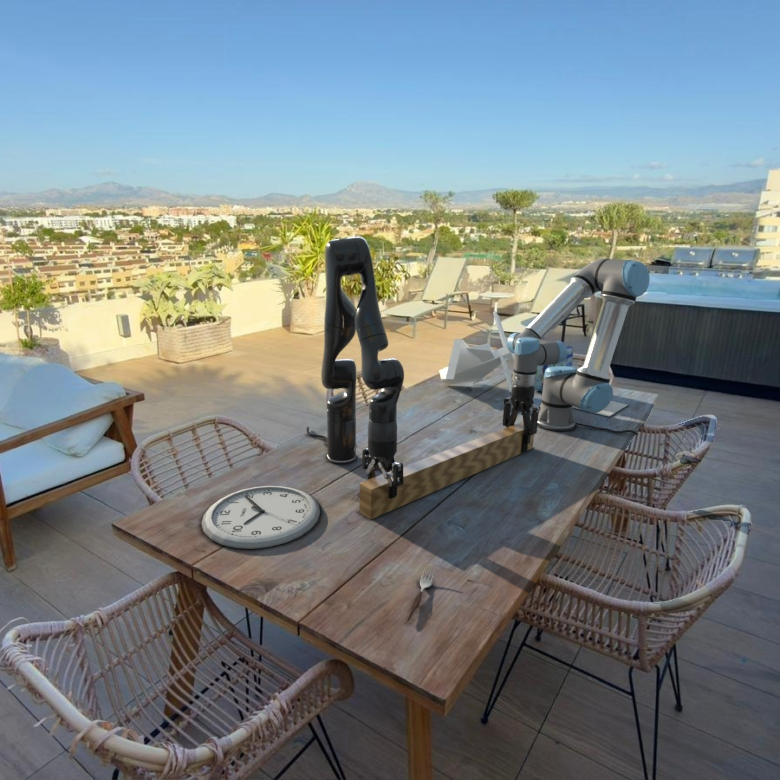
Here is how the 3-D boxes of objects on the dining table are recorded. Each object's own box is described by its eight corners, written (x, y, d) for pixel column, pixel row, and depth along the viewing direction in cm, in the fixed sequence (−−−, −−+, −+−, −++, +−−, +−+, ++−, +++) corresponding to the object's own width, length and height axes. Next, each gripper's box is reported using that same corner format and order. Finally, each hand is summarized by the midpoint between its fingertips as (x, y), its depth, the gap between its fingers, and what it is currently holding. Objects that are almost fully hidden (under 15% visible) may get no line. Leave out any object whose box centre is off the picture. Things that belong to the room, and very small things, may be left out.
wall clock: (317, 540, 124) (186, 544, 121) (317, 546, 124) (187, 551, 121) (322, 481, 152) (216, 484, 150) (322, 486, 153) (216, 489, 150)
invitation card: (608, 416, 214) (573, 407, 224) (608, 416, 214) (573, 408, 224) (628, 404, 229) (594, 396, 238) (628, 405, 229) (594, 397, 238)
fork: (401, 621, 101) (401, 612, 100) (424, 572, 115) (424, 565, 115) (413, 625, 100) (414, 616, 100) (435, 575, 114) (436, 567, 114)
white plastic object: (461, 429, 252) (437, 405, 227) (444, 352, 274) (420, 323, 250) (535, 404, 240) (518, 377, 215) (510, 326, 262) (492, 293, 237)
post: (521, 444, 186) (523, 421, 183) (532, 448, 182) (535, 425, 180) (359, 512, 140) (359, 482, 137) (370, 519, 136) (371, 489, 134)
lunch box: (545, 396, 239) (550, 351, 232) (524, 391, 246) (528, 347, 240) (572, 385, 256) (577, 343, 250) (552, 380, 263) (557, 339, 257)
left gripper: (354, 430, 138) (354, 486, 143) (389, 447, 128) (388, 506, 132) (376, 424, 143) (375, 478, 147) (412, 440, 132) (410, 497, 137)
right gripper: (494, 380, 177) (489, 443, 184) (540, 393, 164) (533, 460, 171) (508, 376, 182) (502, 438, 189) (553, 388, 169) (545, 454, 176)
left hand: (381, 491), depth 140 cm, fingers open, 8 cm apart
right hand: (517, 449), depth 180 cm, fingers closed on post, 5 cm apart
